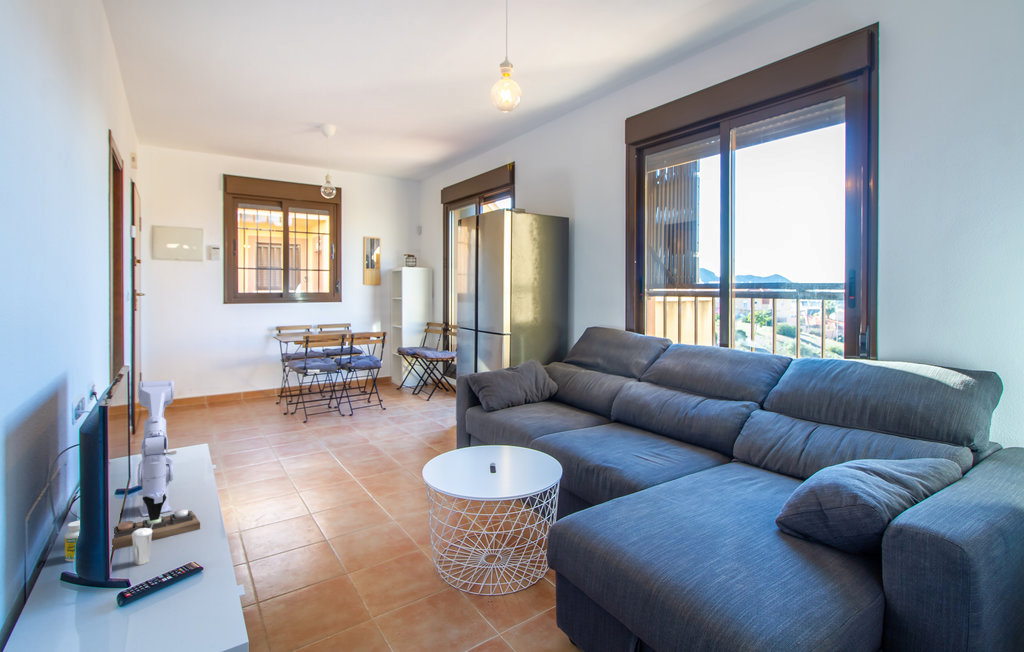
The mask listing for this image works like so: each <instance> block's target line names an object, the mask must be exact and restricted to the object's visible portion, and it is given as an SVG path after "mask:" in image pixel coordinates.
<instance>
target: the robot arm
mask: <svg viewBox="0 0 1024 652" xmlns="http://www.w3.org/2000/svg"><path fill="white" fill-rule="evenodd" d="M174 382H175V381H174V380H173V379H170V380H169V379H166V380H151V381H147V380H146V381H143V380H140V381H139V382H138V385H137V387H138V388H137V391H138V392H137V395H138V396H137V398H138V403H139V404H140V406H141V407H145V408H146V409H147V411H148V418H147V419H145V421H144V422H143V439H141V443H140V444H141V445H140V446H141V447H140V449H141V450H140V451H141V452H140V453H141V458H142V460H140V461H139V463H138V464H137V465H138V467H137V485H138V486H139V487H141V489H142V491H141V490H140V491H138V492H137V495H138V496H139V497H141V496H142V497H141V499H142V506H139V507H138V510H139V512H140V514H141V515H142V516H141V517H148V519H150V521H153V520H158V519H159V517H161V514H162V513H163V514H164V513H168V512H171V511H172V507H171V506H170V504H169V503H170V502H169V501H170V500H169V499H170V498H169V497H170V496H169V495H170V494H169V492H170V490H169V489H170V488H169V486H170V485H169V484H170V483H171V482H173V480H174V459H173V458H172V457H170V456H168V449H169V446H168V445H169V443H168V442H169V440H168V439H169V438H168V435H167V433H168V432H167V419H166V418H165V415H164V414H165V411H166V407H168V406H170V405H171V404H173V401H174V397H175V395H174V394H175V383H174ZM165 452H166V453H165Z"/></svg>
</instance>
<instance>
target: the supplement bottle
mask: <svg viewBox="0 0 1024 652" xmlns="http://www.w3.org/2000/svg"><path fill="white" fill-rule="evenodd" d="M79 530H80V520H75V521H72V522H69V523H68V524H67V531H66V533H65V534H64V560H65V561H66V562H76V561H75V558H74V555H75V544H76V541H77V538H78V536H79ZM65 557H67V558H65Z"/></svg>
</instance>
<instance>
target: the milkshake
mask: <svg viewBox="0 0 1024 652" xmlns="http://www.w3.org/2000/svg"><path fill="white" fill-rule="evenodd" d="M153 523H154V522H152V525H151V528H140V529H137V530H136V531H134V532H133V533H132V542H133V545H132V551H133V553H132V554H133V563H134V565H136V566H141V565H145V564H147V563H149V561H150V560H151V559H150V557H151V548H152V541H151V539H152V532H153V531H152V526H153Z"/></svg>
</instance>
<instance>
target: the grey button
mask: <svg viewBox="0 0 1024 652" xmlns="http://www.w3.org/2000/svg"><path fill="white" fill-rule="evenodd" d="M188 511H189V510H188V509H187V508H185V509H184V508H183V509H182V508H181V509H178V510H176V511H174V513H173V514H174V518H175V519H177V518H182V517H186V516H188Z"/></svg>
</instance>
